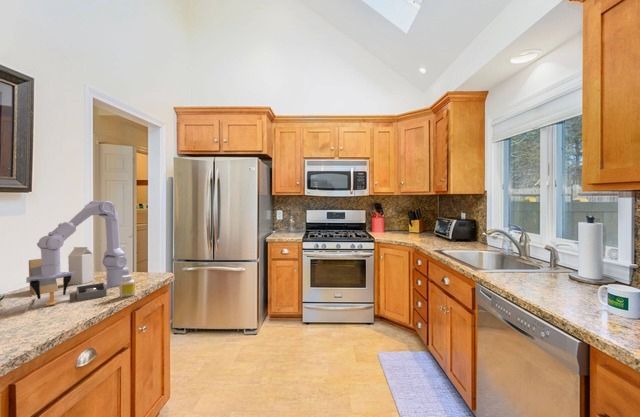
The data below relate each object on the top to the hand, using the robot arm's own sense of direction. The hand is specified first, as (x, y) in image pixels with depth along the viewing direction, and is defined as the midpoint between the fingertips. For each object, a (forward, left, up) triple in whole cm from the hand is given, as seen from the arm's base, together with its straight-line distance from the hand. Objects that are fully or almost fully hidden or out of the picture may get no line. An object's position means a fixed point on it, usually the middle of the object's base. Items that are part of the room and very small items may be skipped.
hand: (51, 296), depth 119 cm
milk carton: (-10, -32, -3) cm, 34 cm away
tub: (-13, -2, -3) cm, 14 cm away
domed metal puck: (-13, -6, -3) cm, 15 cm away
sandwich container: (+4, -26, -3) cm, 26 cm away
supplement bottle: (-25, +12, -3) cm, 28 cm away
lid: (0, -3, -3) cm, 4 cm away
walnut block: (-13, +1, -3) cm, 13 cm away
